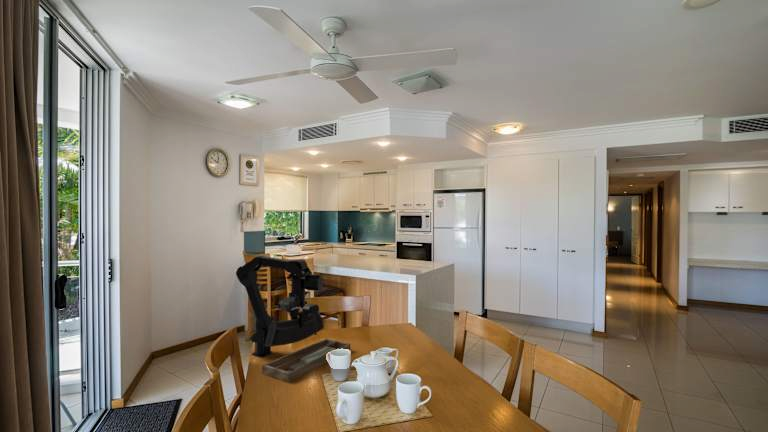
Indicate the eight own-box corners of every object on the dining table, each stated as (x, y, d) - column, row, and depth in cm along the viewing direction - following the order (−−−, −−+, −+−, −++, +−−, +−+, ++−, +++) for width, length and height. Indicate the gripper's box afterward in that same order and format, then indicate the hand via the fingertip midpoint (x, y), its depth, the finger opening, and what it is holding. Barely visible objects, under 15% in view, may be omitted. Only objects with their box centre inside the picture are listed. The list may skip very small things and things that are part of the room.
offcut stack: (286, 374, 136) (286, 365, 136) (330, 352, 159) (330, 344, 159) (297, 377, 133) (298, 368, 133) (340, 354, 156) (340, 346, 156)
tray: (262, 373, 136) (262, 365, 136) (326, 344, 167) (326, 338, 167) (288, 382, 128) (288, 374, 128) (350, 350, 159) (350, 344, 159)
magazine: (266, 327, 135) (319, 295, 160) (260, 326, 137) (313, 294, 162) (274, 368, 138) (324, 330, 163) (268, 366, 140) (319, 329, 165)
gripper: (267, 290, 149) (267, 328, 149) (300, 295, 140) (300, 336, 139) (288, 286, 159) (287, 321, 159) (320, 290, 149) (319, 328, 149)
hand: (297, 326), depth 151 cm, fingers closed on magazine, 3 cm apart
